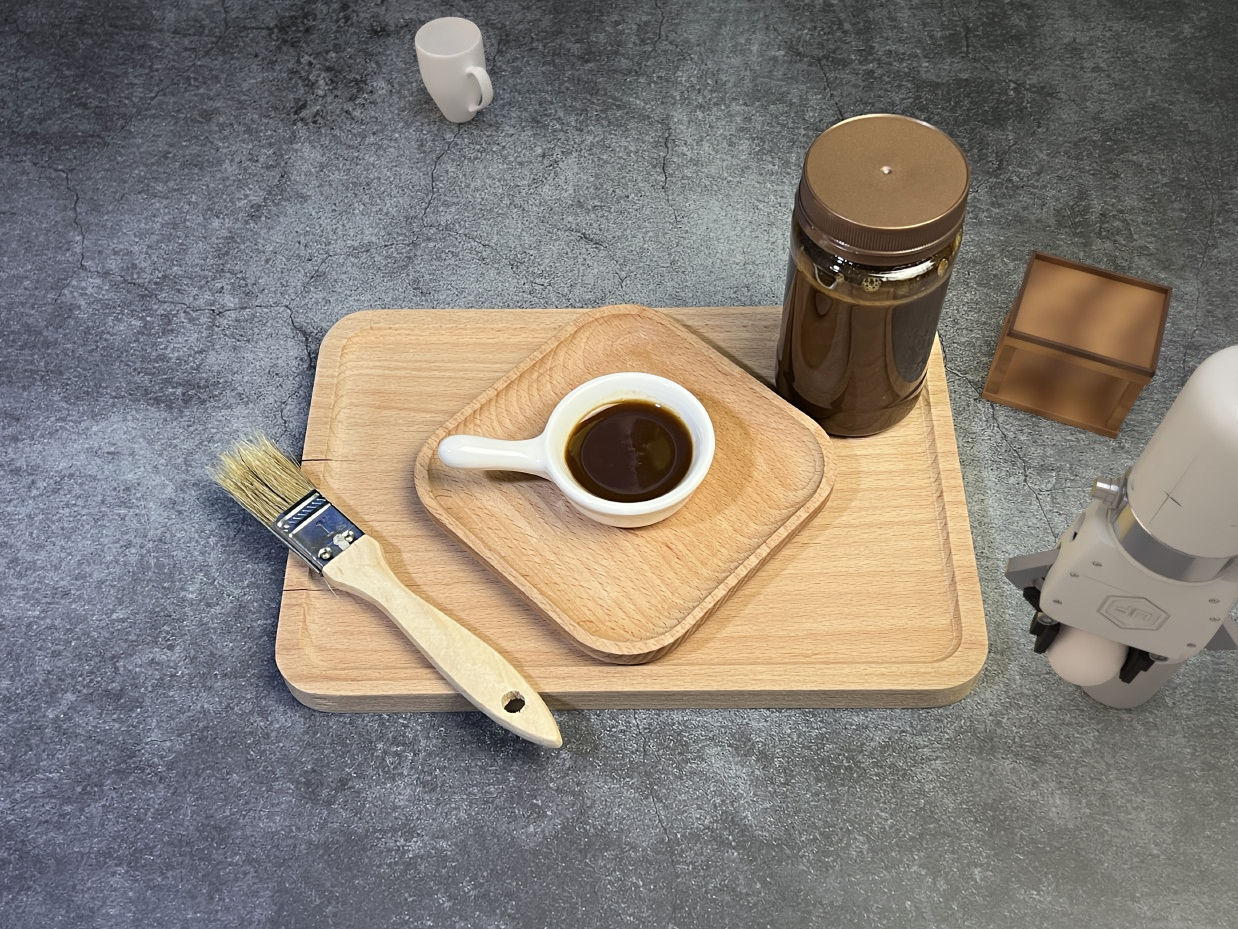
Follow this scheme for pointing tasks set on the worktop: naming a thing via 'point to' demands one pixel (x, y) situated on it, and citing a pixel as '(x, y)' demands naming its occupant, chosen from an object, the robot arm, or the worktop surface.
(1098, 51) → the worktop surface
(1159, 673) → the can
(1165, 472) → the robot arm
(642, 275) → the worktop surface
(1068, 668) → the egg
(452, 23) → the mug
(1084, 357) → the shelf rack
